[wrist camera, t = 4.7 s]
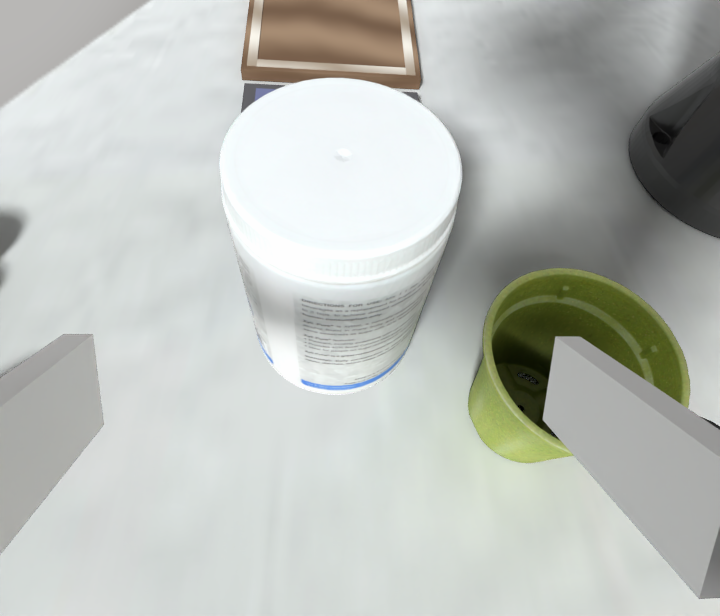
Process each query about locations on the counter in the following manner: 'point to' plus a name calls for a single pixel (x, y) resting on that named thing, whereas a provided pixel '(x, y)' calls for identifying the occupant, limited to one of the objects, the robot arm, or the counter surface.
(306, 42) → the board
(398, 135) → the supplement tub
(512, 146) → the counter surface
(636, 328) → the plant pot
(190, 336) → the counter surface
